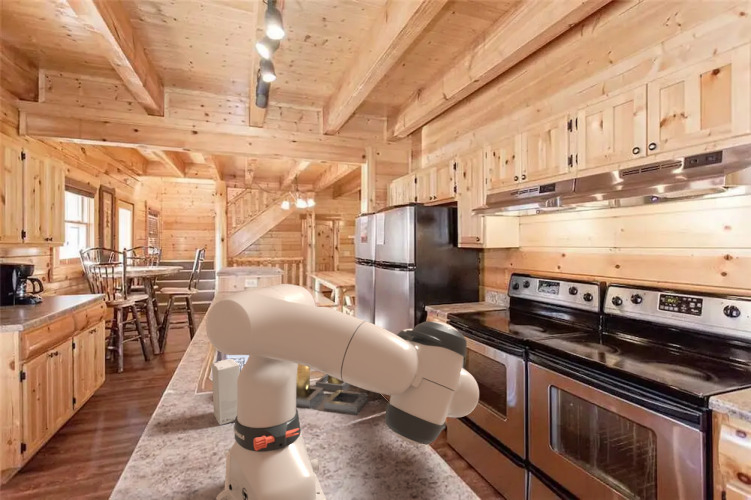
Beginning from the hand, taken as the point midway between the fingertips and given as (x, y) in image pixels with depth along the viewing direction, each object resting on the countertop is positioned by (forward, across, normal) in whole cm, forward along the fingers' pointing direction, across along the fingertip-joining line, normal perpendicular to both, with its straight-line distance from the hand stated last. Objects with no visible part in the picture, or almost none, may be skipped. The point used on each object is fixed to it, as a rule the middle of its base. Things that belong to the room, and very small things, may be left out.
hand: (348, 366), depth 122 cm
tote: (+5, 0, -7) cm, 9 cm away
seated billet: (+10, -13, -6) cm, 18 cm away
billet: (+5, 0, -7) cm, 8 cm away
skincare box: (+25, -28, -8) cm, 38 cm away
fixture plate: (+3, -13, -7) cm, 15 cm away
